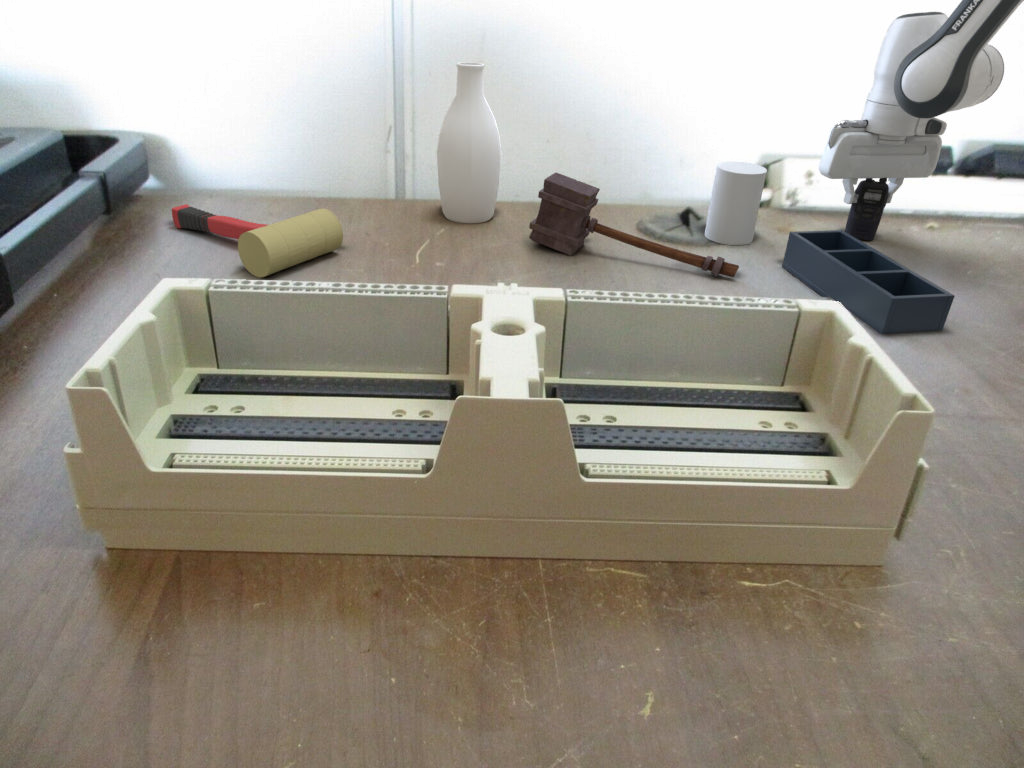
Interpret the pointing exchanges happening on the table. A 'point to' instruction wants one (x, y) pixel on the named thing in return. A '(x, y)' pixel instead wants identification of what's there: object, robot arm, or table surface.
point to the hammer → (596, 225)
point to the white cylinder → (735, 202)
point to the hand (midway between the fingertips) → (866, 202)
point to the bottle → (469, 151)
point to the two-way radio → (867, 209)
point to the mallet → (269, 237)
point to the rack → (866, 282)
